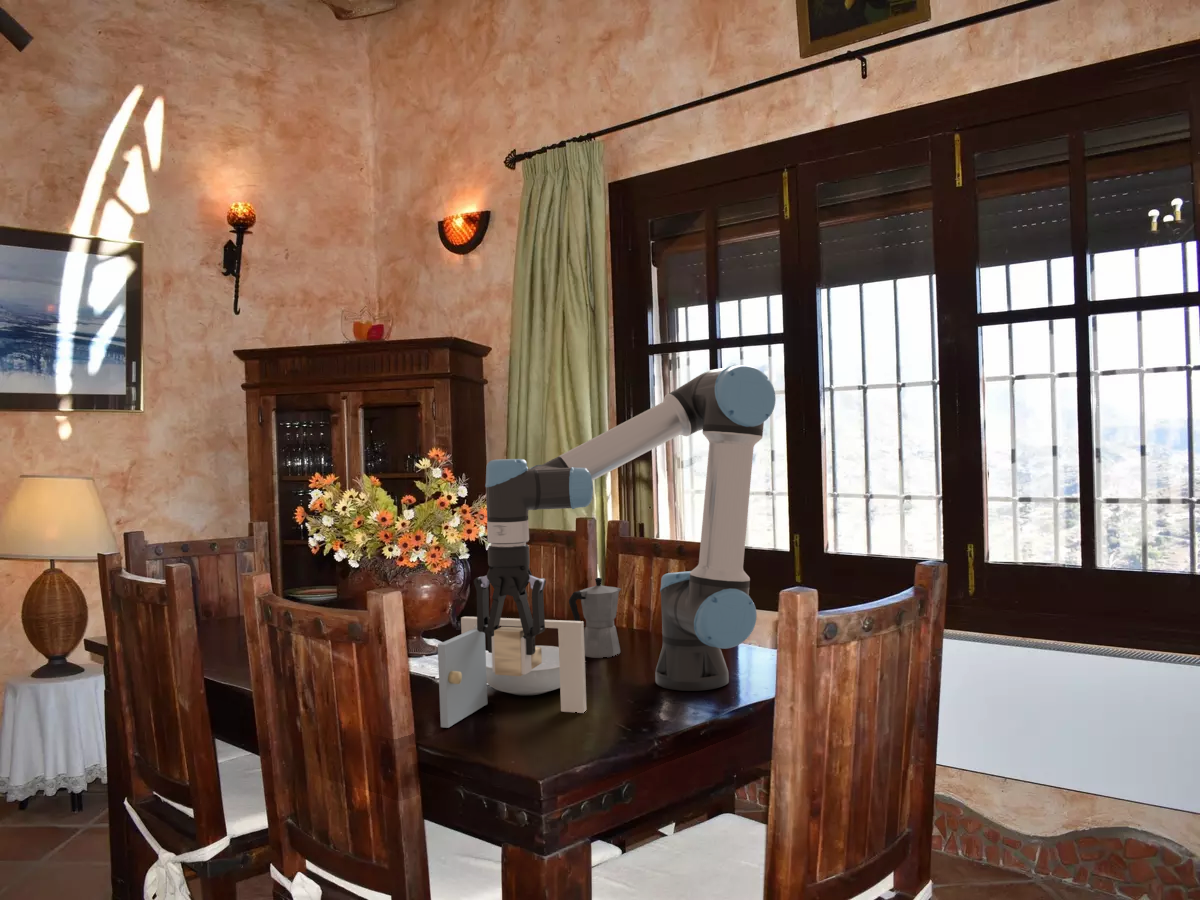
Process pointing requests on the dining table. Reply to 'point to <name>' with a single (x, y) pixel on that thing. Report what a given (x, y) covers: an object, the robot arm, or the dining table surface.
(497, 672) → the toy staircase
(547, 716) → the dining table surface
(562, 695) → the wall frame
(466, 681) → the door
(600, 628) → the coffeepot
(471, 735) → the dining table surface
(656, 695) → the dining table surface
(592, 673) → the dining table surface
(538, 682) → the serving bowl
